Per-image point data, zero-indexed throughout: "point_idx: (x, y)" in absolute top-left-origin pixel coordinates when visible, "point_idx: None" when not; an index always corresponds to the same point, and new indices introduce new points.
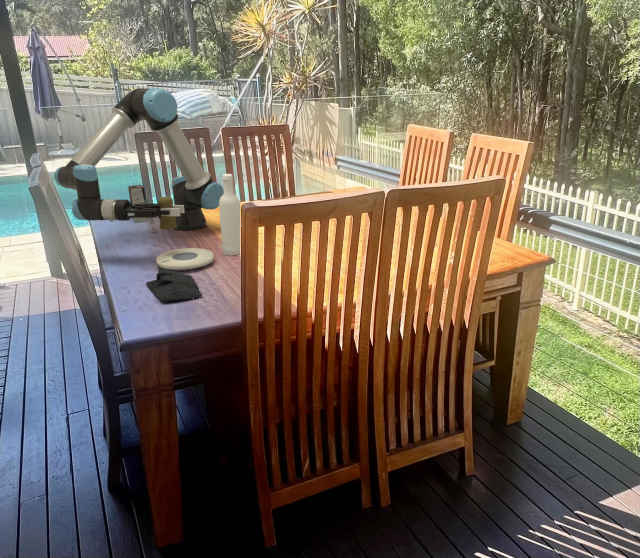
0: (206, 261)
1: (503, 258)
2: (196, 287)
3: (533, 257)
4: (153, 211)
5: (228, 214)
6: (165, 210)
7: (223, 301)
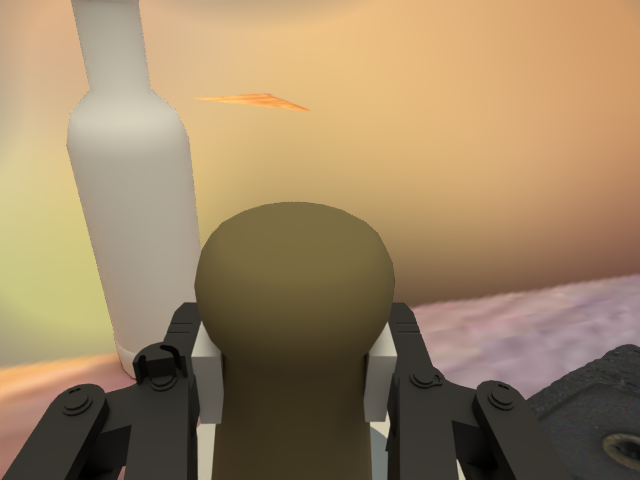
0: None
1: (264, 104)
2: (587, 370)
3: (261, 96)
4: (524, 412)
5: (193, 188)
6: (390, 330)
7: (606, 301)
